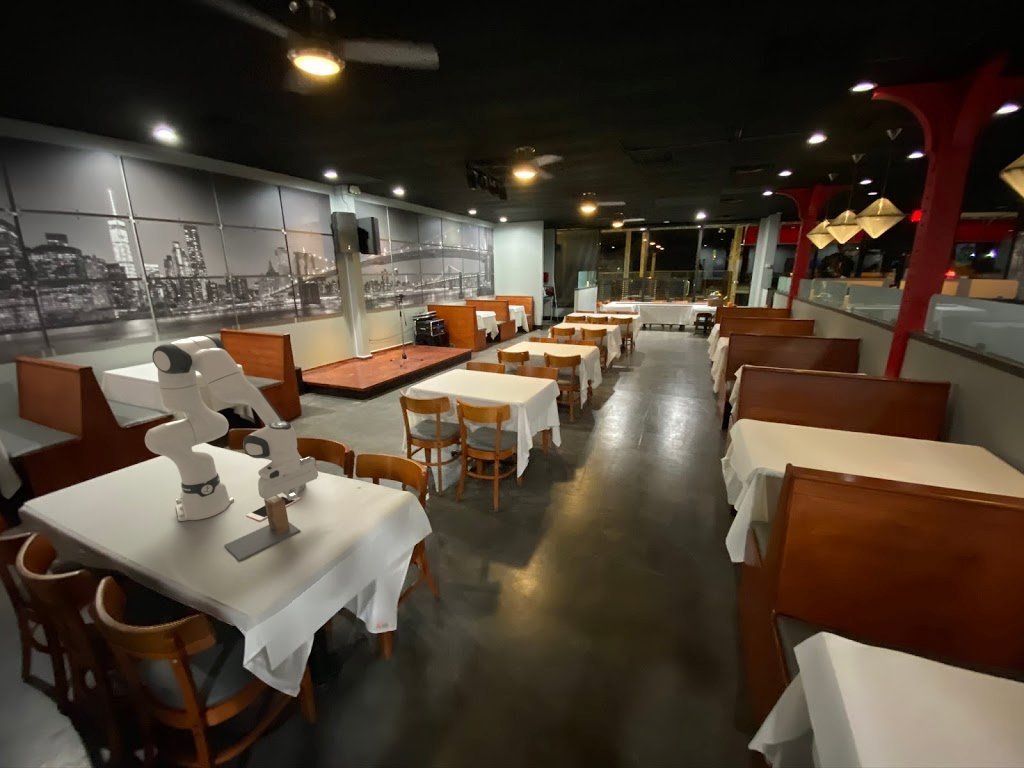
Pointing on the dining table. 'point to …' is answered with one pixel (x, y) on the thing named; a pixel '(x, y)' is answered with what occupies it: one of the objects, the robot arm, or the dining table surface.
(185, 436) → the robot arm
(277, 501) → the walnut block
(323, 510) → the dining table surface
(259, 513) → the cell phone
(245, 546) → the rubber mat
